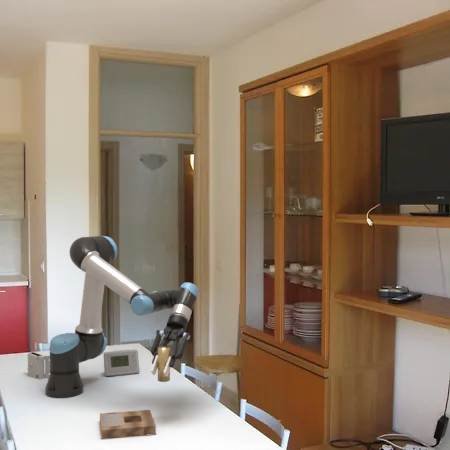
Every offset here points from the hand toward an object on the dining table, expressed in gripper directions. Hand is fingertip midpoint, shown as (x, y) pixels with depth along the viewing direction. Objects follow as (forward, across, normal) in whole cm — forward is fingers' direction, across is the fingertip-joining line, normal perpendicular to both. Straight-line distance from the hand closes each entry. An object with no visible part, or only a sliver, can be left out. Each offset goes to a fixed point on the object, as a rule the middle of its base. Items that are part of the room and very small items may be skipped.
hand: (159, 373), depth 211 cm
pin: (0, 0, -5) cm, 5 cm away
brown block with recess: (+18, +8, -7) cm, 21 cm away
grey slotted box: (-9, +75, -35) cm, 83 cm away
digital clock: (-21, +44, -48) cm, 68 cm away
